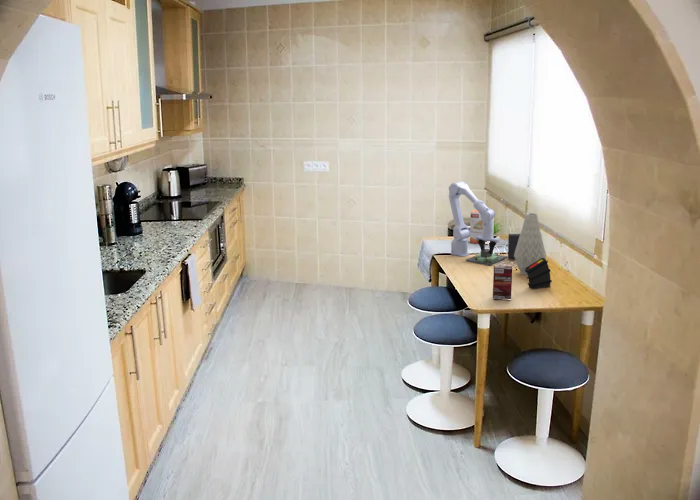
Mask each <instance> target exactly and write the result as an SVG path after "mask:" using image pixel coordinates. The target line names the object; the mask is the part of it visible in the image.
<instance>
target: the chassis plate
mask: <svg viewBox="0 0 700 500" xmlns="http://www.w3.org/2000/svg"><path fill="white" fill-rule="evenodd" d="M479 254H481V252H480V253H479ZM495 254H496V256H498V259H496V260H494V261H489V257H487V260H485V261H483V262H482V261H477V255H478V254H475V255H473V256H471V257H469V258H466V259H465V262H469V263H473V264H478V265H483V266H489V267H491V266H494V265H495V264H497V263H500V262H502V261H504V260H506V259H508V255H502V254H499V252H496V253H495Z"/></svg>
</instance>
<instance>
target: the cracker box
mask: <svg viewBox="0 0 700 500" xmlns="http://www.w3.org/2000/svg"><path fill="white" fill-rule="evenodd" d="M469 219H470V225H469V227H470V228H469V231H470V237H469V243H470V244H478V241H479V240H476V236H482V229H483V222H482V219H481V214H480V213H479V212H478V211H477V210H476V209H473V210H471V211H470V218H469ZM494 226H495V217H494V218H493V232H492V237H493V238H494V234H495V233H494V232H495V231H494V230H495V227H494ZM485 242H487V241H485ZM478 245H479V244H478Z"/></svg>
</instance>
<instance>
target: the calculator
mask: <svg viewBox="0 0 700 500" xmlns="http://www.w3.org/2000/svg"><path fill="white" fill-rule="evenodd" d="M519 236H520V233H508V237H507V238H508V239H507V240H508V242H507V243H508V244H507V245H508V246H507V248H508V249H507V256H508V258H507V259H508V260H509V261H516V259H515V257H514V253H515V249H516V246H517V243H518V240H519Z"/></svg>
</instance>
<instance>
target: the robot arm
mask: <svg viewBox="0 0 700 500" xmlns="http://www.w3.org/2000/svg"><path fill="white" fill-rule="evenodd" d="M448 191H449V193H448V199H449V205H450V208H451V212H452V213H451V214H452V217H453V222H454V227H453V229H452V231H453V232H452V235H453V240H452V241H451V242H450V243H451V244H450V247H451V249H450V252H451V253H450V255H453V256H458V257H466V256H468V255H471V252H468V250H469V249H468V245H469V243H468V241H469V239H470V228H469V227H468V225H467V224H466V223H465V221H464V218H463V217H464V216H463V212H462V207H461V203H460V197H461V195H462V196H465V197H466V198H467V199H468V200H469V201H470V202H471V203H472V204H473V208H474V210H477V211H478V212H479V213H480V214H481V219H482V222H483V229H482V236H476V240H479V241H478V245H479V248H480V252H481V251H482V250H485V249H486V244H485V241H490V243H489V248H488V249H490V254H492V253H493V252H494V248H495V247H496V246H497V244H498V243H500V239H499V238H495V237H494V236H493V237H492V232H493V218H494V219H495V216H496V213H495V211H494V209H493V208H490V207H488V206H487V205H486V204H485V201H483V200H481V199H478V198H477V196H476V194H474V193H473V191H472V190H471V189H470V186H469V185H468V184H467V183H466V181H464V180H460V181H456V182H452V183H451V184H450V185H449V186H448Z"/></svg>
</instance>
